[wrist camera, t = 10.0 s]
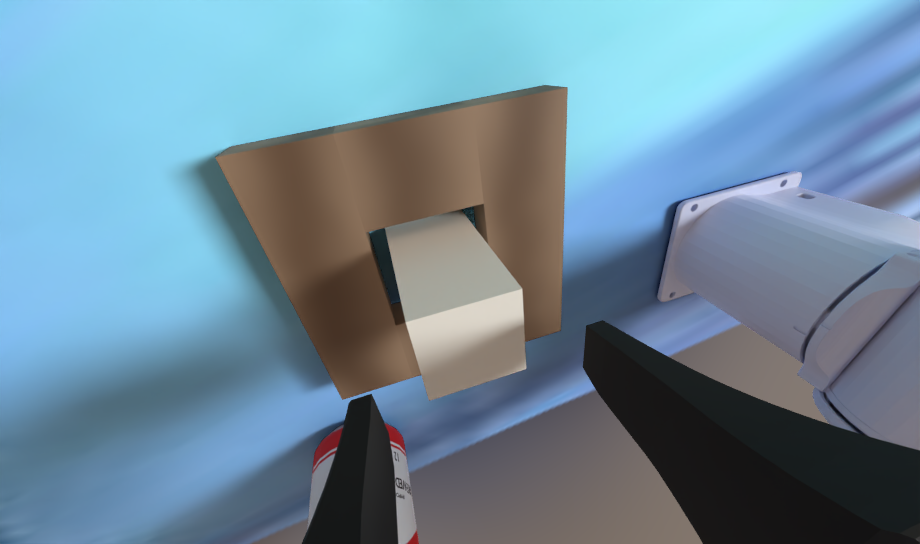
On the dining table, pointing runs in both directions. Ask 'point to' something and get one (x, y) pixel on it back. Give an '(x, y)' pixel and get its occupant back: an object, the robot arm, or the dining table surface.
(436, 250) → the peg
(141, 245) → the dining table surface
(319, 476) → the beer can
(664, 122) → the dining table surface
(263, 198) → the slotted board
